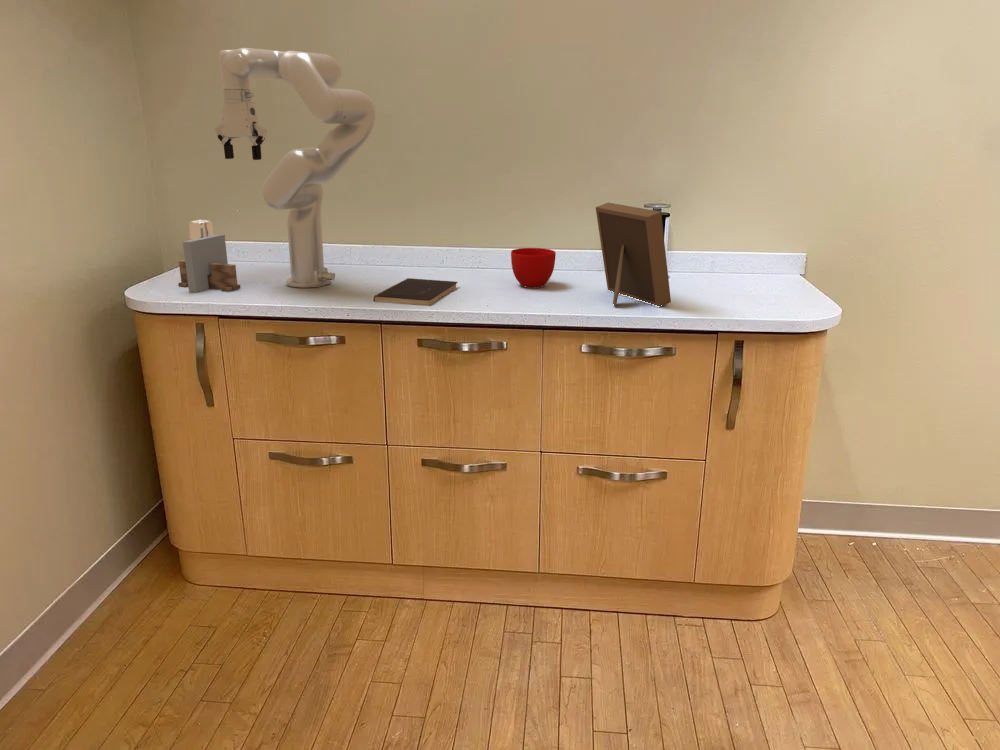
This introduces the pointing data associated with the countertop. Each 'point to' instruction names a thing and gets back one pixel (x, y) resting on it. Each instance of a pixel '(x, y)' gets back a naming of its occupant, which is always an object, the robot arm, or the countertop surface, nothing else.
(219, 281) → the walnut slotted plate
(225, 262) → the gray square panel
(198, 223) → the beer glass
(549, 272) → the ceramic cup
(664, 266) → the photo frame
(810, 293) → the countertop surface
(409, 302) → the hardcover book
